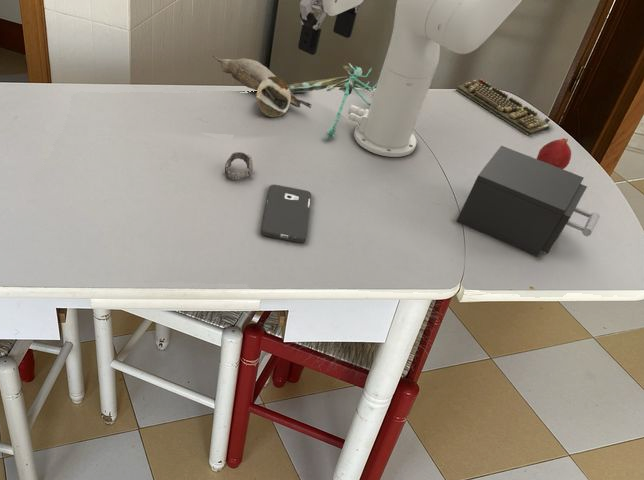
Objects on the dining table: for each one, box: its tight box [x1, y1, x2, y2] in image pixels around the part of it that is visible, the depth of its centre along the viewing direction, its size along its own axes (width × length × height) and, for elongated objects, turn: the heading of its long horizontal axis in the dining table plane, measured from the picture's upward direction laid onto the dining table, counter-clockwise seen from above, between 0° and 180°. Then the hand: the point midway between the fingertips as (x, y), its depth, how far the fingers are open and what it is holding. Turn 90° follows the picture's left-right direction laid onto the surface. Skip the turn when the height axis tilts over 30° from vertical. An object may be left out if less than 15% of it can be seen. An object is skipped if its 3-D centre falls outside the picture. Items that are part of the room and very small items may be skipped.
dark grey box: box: [456, 145, 585, 258], centre depth 121 cm, size 15×13×10 cm
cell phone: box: [260, 184, 312, 244], centre depth 121 cm, size 8×15×1 cm, turn 169°
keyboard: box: [455, 78, 551, 136], centre depth 154 cm, size 22×9×2 cm, turn 30°
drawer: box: [540, 183, 601, 255], centre depth 120 cm, size 18×12×8 cm, turn 54°
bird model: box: [212, 55, 313, 109], centre depth 149 cm, size 29×6×5 cm, turn 44°
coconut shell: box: [254, 76, 291, 118], centre depth 144 cm, size 8×8×6 cm
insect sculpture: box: [287, 62, 382, 141], centre depth 148 cm, size 6×20×30 cm
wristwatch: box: [224, 151, 254, 181], centre depth 127 cm, size 4×6×5 cm
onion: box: [536, 137, 572, 170], centre depth 134 cm, size 6×6×8 cm
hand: (324, 42), depth 111 cm, fingers open, 9 cm apart
